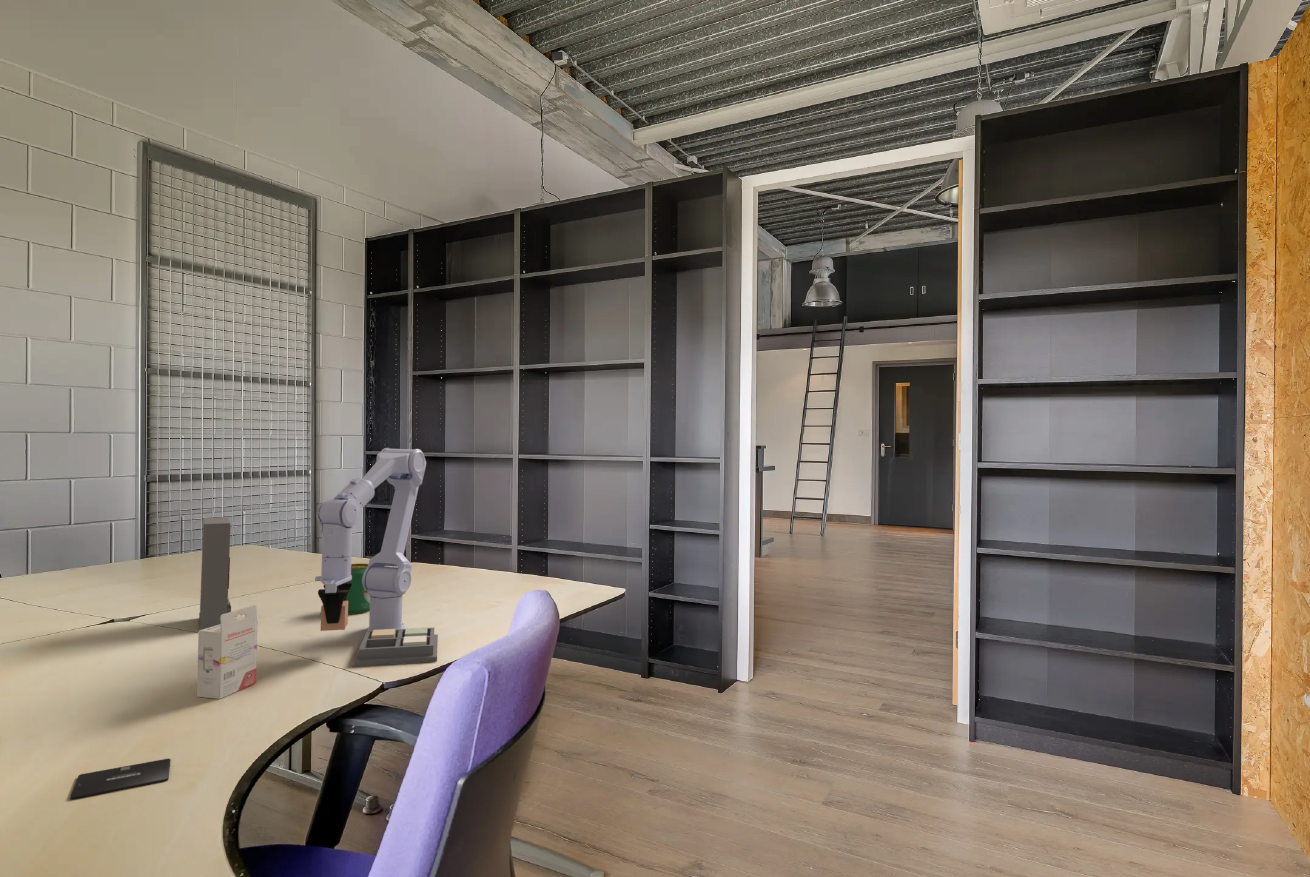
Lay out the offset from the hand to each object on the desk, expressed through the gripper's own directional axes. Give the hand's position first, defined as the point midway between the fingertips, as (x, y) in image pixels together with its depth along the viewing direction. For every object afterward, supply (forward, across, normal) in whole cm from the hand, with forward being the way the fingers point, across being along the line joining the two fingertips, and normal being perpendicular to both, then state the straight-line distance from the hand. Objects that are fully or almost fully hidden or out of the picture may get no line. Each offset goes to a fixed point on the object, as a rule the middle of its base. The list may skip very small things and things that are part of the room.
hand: (334, 619), depth 145 cm
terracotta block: (+2, 0, 0) cm, 2 cm away
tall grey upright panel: (+8, -32, -31) cm, 45 cm away
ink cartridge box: (+8, +18, -15) cm, 25 cm away
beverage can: (+8, -39, 0) cm, 40 cm away
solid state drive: (+8, +51, -18) cm, 55 cm away
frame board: (+7, +1, +13) cm, 15 cm away
